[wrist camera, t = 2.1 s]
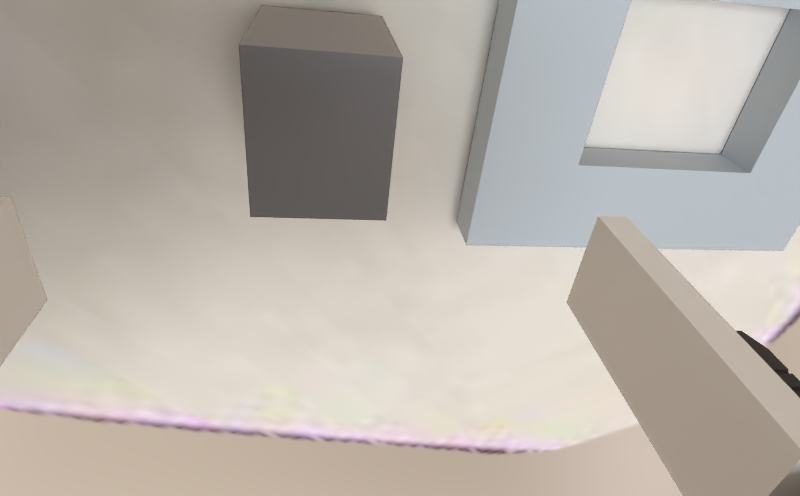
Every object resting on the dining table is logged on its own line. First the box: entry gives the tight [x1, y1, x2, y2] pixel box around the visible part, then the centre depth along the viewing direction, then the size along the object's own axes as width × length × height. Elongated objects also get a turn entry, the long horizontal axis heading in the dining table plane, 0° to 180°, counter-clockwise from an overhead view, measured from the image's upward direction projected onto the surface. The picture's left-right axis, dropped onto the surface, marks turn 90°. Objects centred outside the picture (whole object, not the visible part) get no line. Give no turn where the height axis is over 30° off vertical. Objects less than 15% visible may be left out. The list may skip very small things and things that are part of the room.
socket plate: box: [457, 0, 800, 251], centre depth 26 cm, size 20×18×2 cm
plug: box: [239, 5, 403, 220], centre depth 21 cm, size 5×6×8 cm
